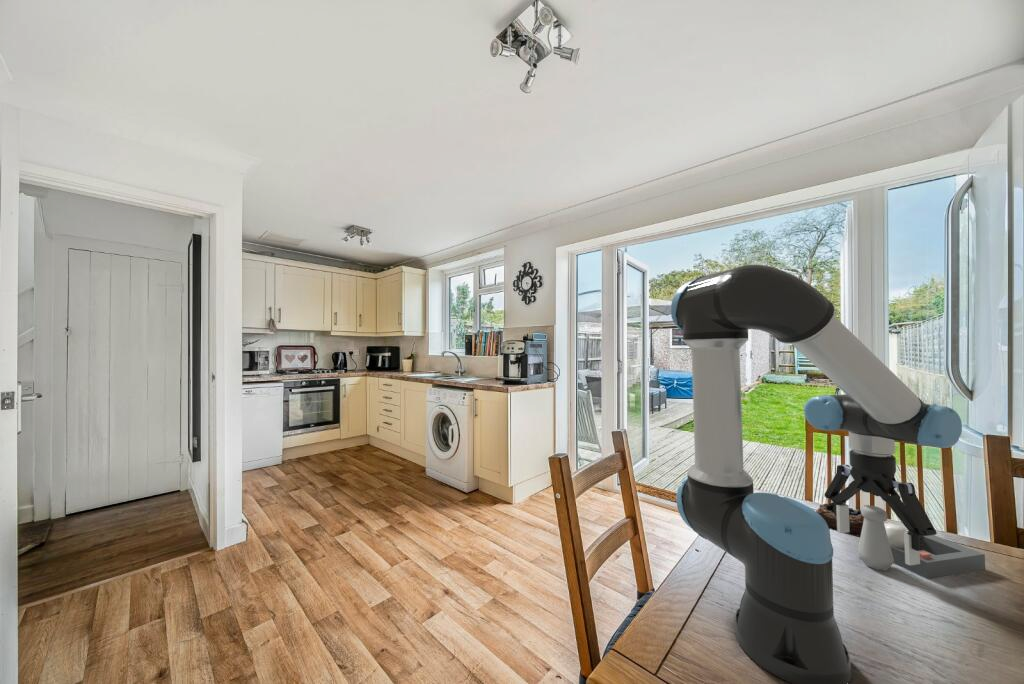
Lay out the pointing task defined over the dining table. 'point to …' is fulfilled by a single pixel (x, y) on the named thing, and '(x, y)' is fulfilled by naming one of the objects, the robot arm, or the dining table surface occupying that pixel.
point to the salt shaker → (875, 539)
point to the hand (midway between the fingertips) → (875, 546)
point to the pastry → (828, 515)
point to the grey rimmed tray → (935, 555)
